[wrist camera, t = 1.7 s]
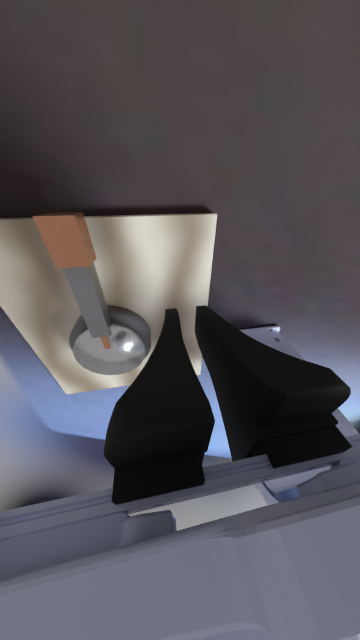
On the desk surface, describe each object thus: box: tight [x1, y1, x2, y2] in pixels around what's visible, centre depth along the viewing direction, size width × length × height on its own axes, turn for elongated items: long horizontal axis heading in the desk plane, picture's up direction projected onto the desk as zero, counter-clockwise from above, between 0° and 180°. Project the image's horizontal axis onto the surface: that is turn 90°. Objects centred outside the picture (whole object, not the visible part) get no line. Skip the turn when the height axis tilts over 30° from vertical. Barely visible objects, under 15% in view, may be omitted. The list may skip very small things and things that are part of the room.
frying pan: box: [32, 212, 145, 375], centre depth 15 cm, size 7×16×2 cm, turn 0°
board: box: [0, 213, 217, 394], centre depth 19 cm, size 20×22×2 cm
